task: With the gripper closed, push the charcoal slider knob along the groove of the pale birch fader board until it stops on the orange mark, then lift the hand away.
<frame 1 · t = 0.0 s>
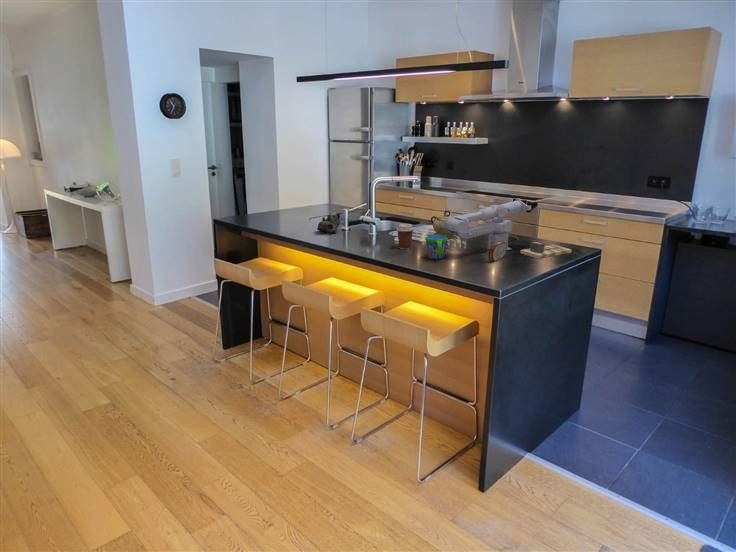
hand: (531, 203, 259), 22 cm above the countertop, tool horizontal, fingers open, 7 cm apart
snack cup: (436, 258, 245), on the countertop
coffee cup: (405, 248, 264), on the countertop
fader knob: (537, 247, 246), point 4 cm above the countertop, slide at 0.0 cm
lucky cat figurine: (329, 232, 303), on the countertop
sugar bowl: (446, 237, 286), on the countertop
tin: (497, 259, 240), on the countertop
fader board: (545, 252, 249), on the countertop
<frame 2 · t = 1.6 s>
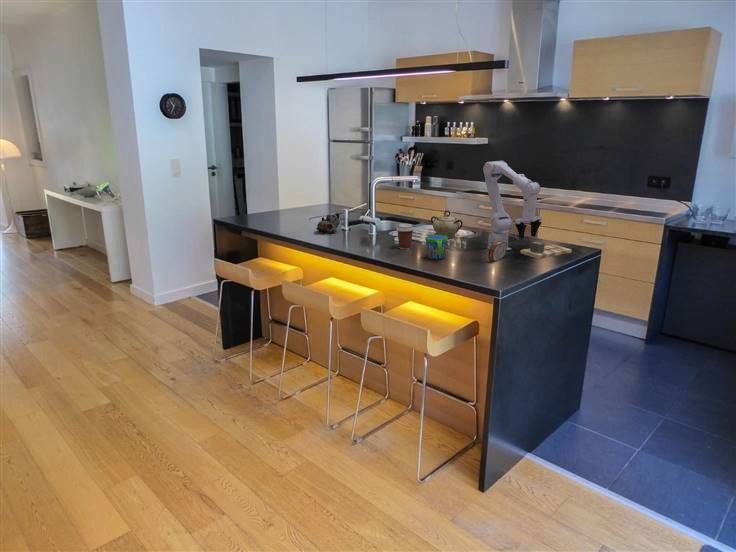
hand: (527, 237, 241), 9 cm above the countertop, tool pointing down, fingers open, 7 cm apart
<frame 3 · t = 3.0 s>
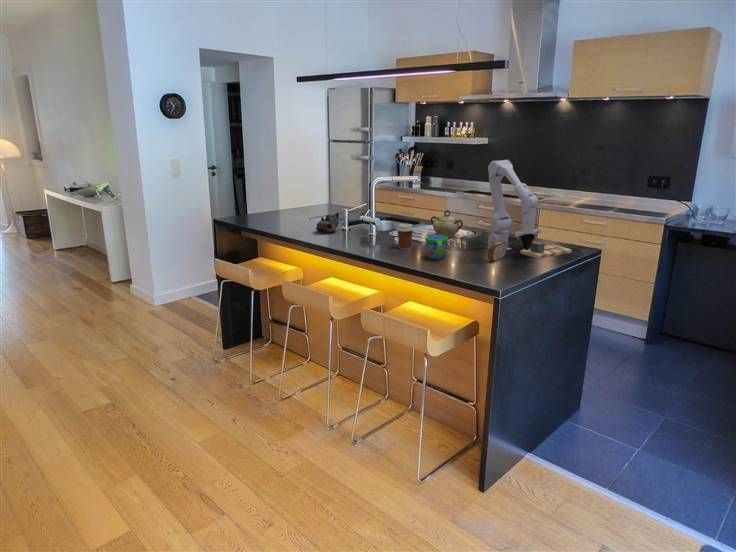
hand: (526, 249, 243), 3 cm above the countertop, tool pointing down, fingers closed
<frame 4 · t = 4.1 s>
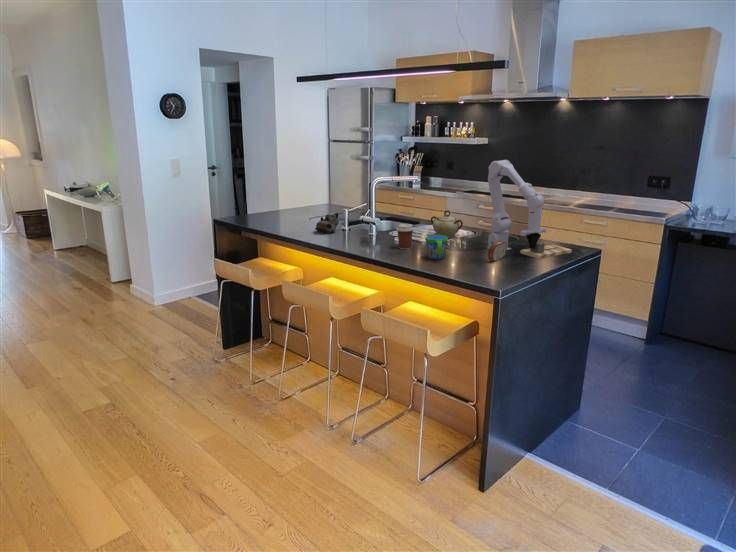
hand: (532, 248, 244), 3 cm above the countertop, tool pointing down, fingers closed
fader knob: (537, 247, 246), point 4 cm above the countertop, slide at 0.0 cm, touching gripper
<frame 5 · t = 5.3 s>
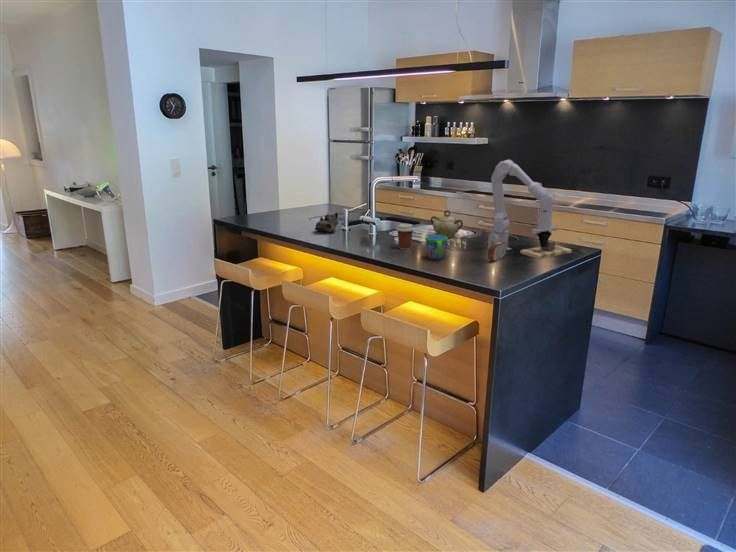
hand: (542, 246, 247), 3 cm above the countertop, tool pointing down, fingers closed
fader knob: (547, 245, 249), point 4 cm above the countertop, slide at 7.0 cm, touching gripper
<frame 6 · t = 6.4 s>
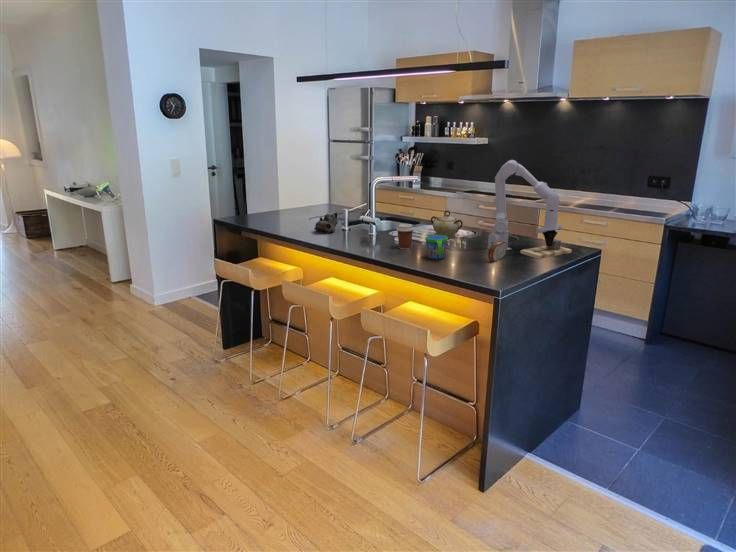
hand: (548, 245, 249), 3 cm above the countertop, tool pointing down, fingers closed
fader knob: (553, 244, 250), point 4 cm above the countertop, slide at 10.8 cm, touching gripper
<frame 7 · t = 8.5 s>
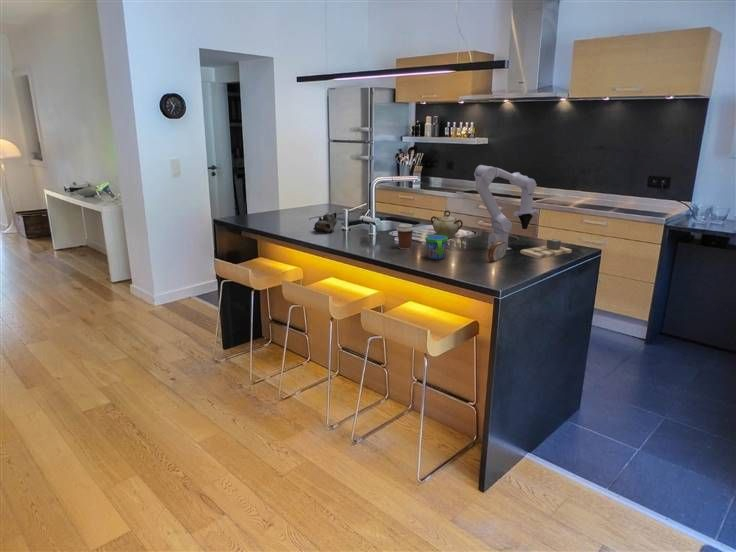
hand: (524, 228, 259), 9 cm above the countertop, tool pointing down, fingers closed
fader knob: (553, 244, 250), point 4 cm above the countertop, slide at 10.8 cm
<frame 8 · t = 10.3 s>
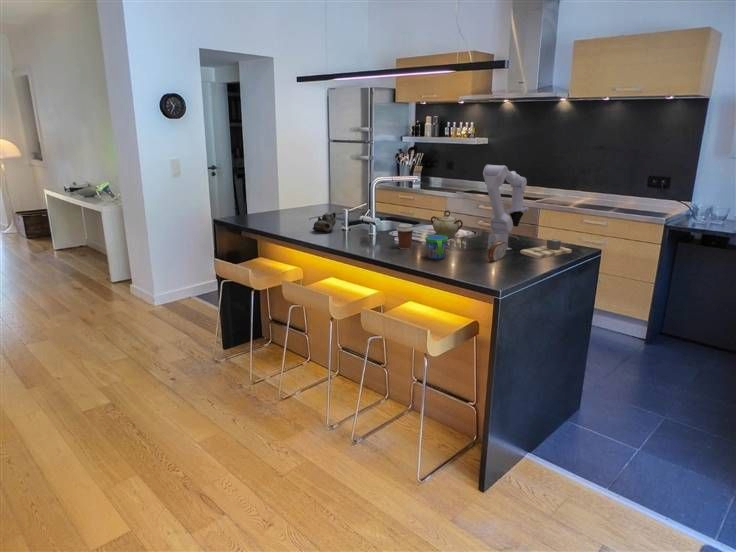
hand: (515, 226, 265), 9 cm above the countertop, tool pointing down, fingers closed
at the end: fader knob slide at 10.8 cm; tin moved 0.3 cm from its start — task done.
